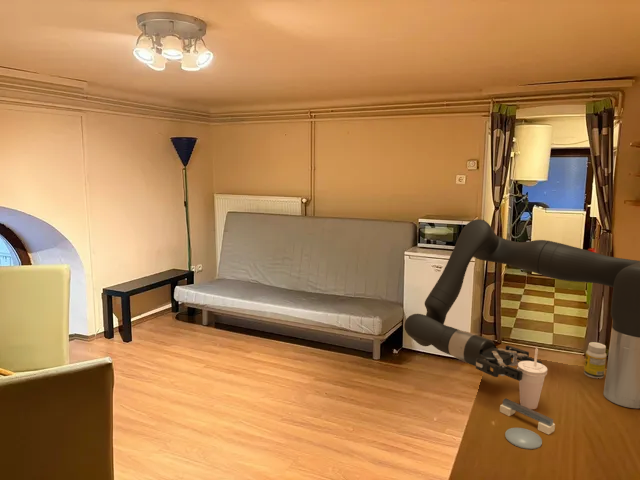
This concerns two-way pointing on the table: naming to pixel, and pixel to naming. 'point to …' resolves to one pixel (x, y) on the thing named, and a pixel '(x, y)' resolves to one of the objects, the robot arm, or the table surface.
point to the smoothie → (531, 382)
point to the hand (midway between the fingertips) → (531, 371)
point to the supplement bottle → (595, 360)
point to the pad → (523, 438)
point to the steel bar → (528, 412)
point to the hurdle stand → (541, 426)
